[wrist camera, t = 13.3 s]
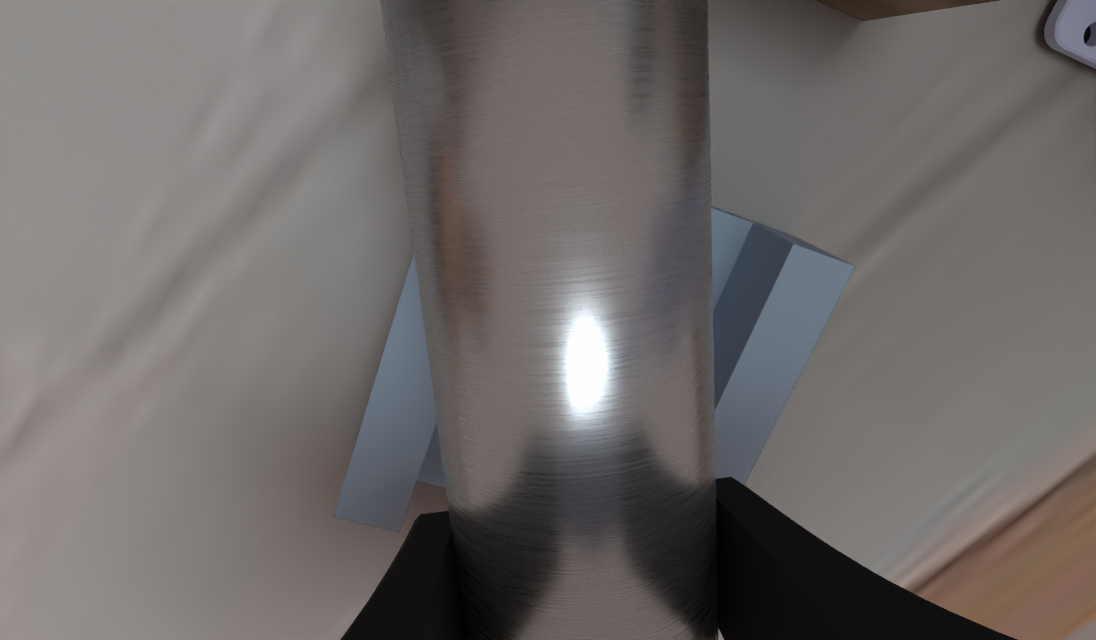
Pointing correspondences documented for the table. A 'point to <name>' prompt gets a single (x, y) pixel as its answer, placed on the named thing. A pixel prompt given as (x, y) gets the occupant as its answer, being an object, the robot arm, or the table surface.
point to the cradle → (739, 366)
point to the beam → (893, 6)
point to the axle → (567, 306)
